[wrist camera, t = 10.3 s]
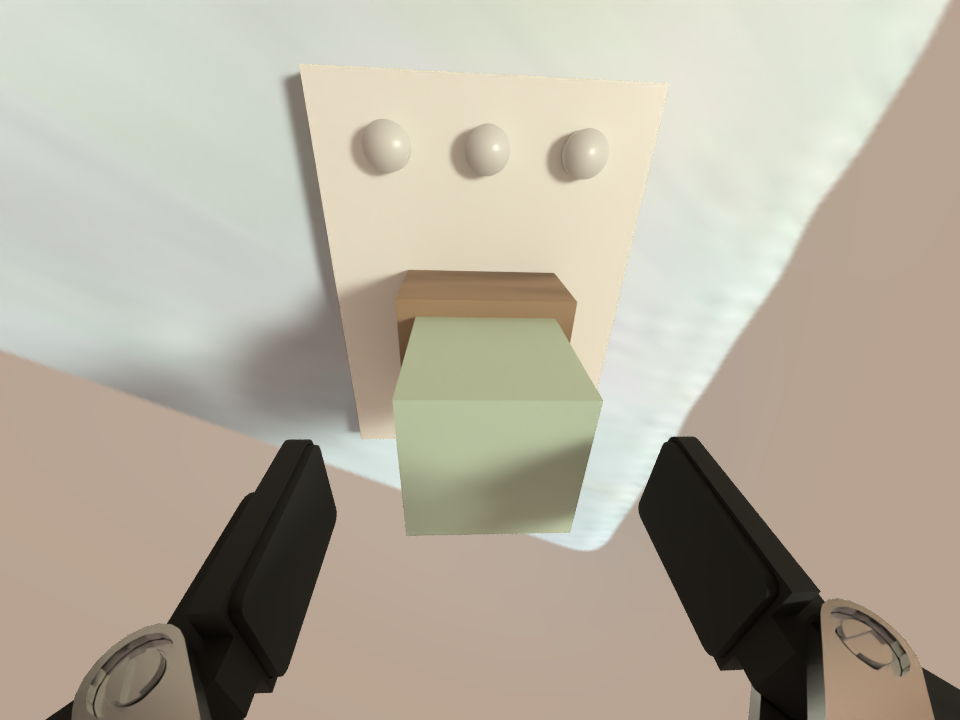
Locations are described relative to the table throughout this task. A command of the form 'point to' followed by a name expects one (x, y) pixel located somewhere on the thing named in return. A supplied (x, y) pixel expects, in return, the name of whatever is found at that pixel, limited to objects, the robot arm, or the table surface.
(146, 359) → the table surface
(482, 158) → the snap baseplate
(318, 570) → the robot arm
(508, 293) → the walnut block
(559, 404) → the sage block
